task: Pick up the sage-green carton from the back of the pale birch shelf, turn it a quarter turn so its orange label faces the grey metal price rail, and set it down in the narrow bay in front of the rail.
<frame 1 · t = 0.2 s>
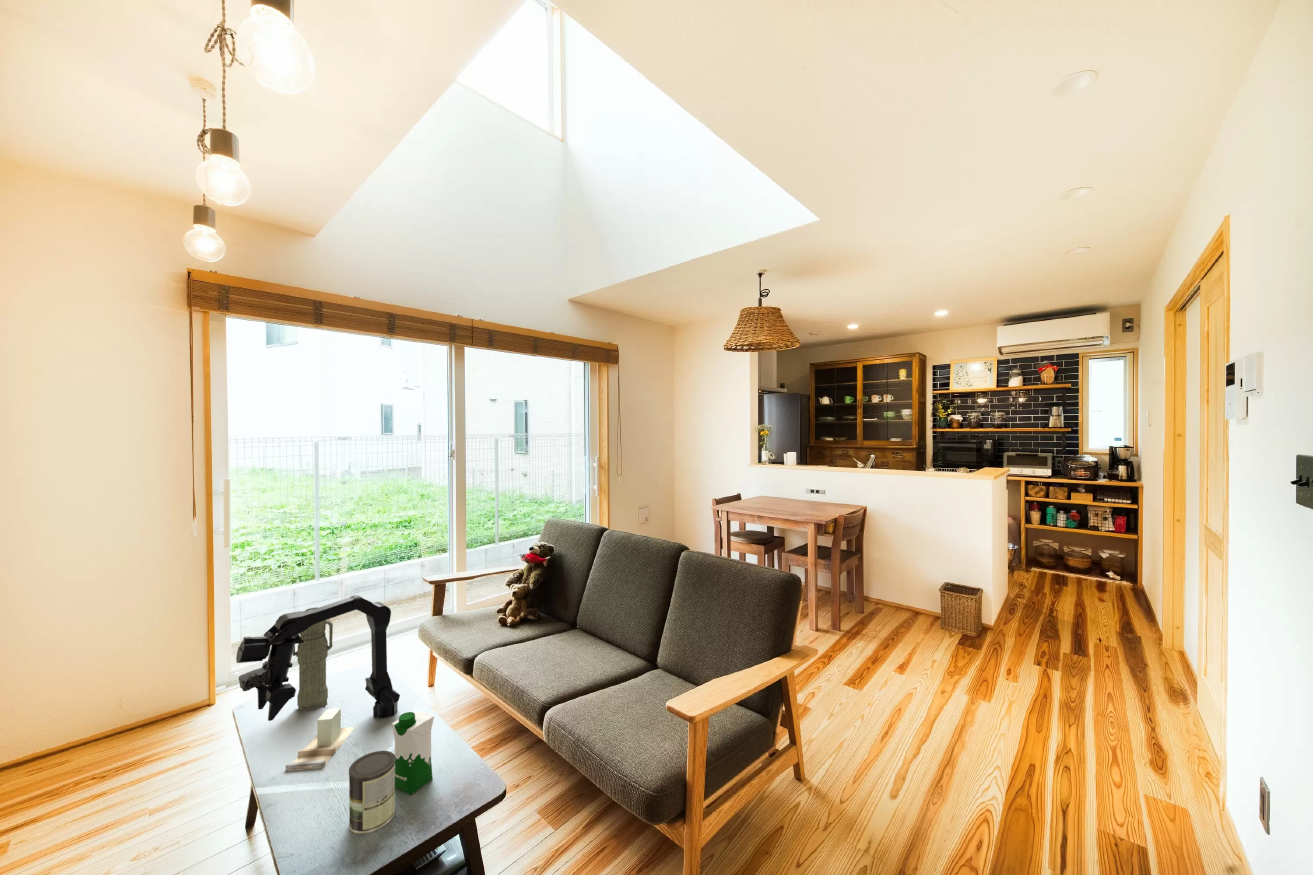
hand: (265, 714, 146), 15 cm above the table, tool pointing down, fingers open, 9 cm apart
carton: (329, 739, 157), point 1 cm above the table, touching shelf
thermos: (313, 708, 177), on the table
coffee can: (372, 818, 127), on the table
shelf: (322, 752, 153), on the table
milk carton: (413, 783, 139), on the table
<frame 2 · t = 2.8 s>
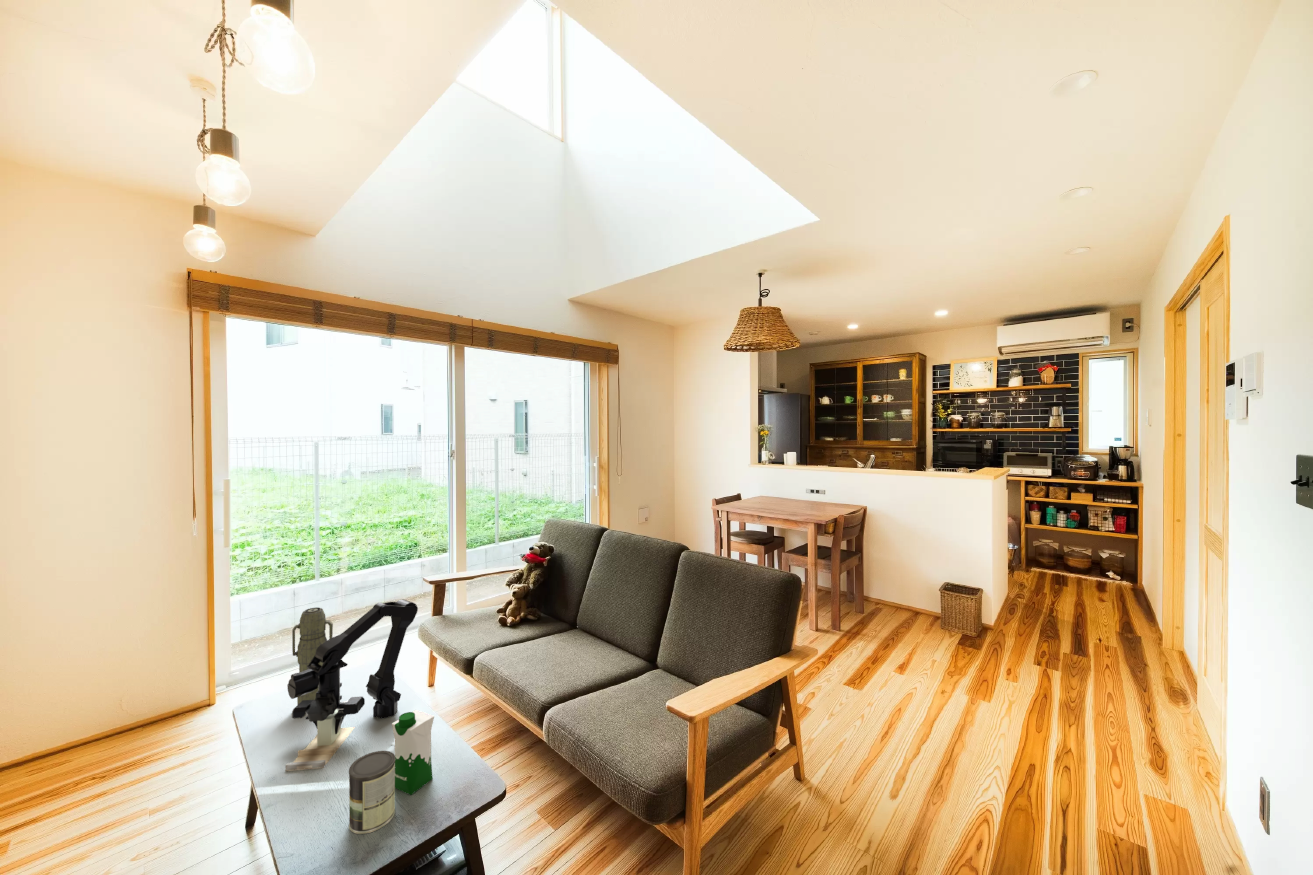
hand: (329, 733, 157), 3 cm above the table, tool pointing down, fingers closed on carton, 4 cm apart
carton: (329, 739, 157), point 2 cm above the table, touching gripper, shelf
everything else where it was.
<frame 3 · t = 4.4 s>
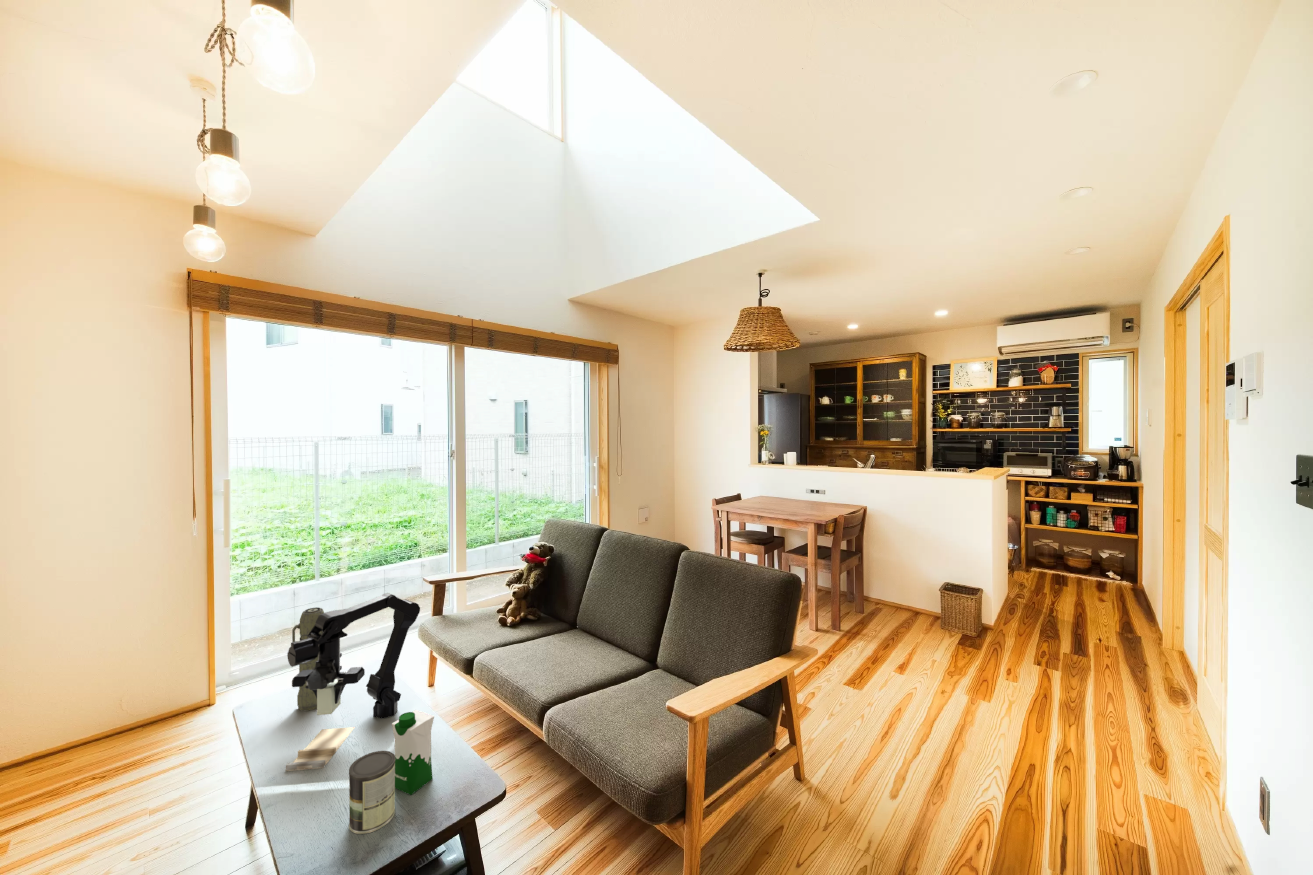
hand: (329, 703, 156), 13 cm above the table, tool pointing down, fingers closed on carton, 4 cm apart
carton: (329, 709, 156), point 11 cm above the table, touching gripper
everything else where it was.
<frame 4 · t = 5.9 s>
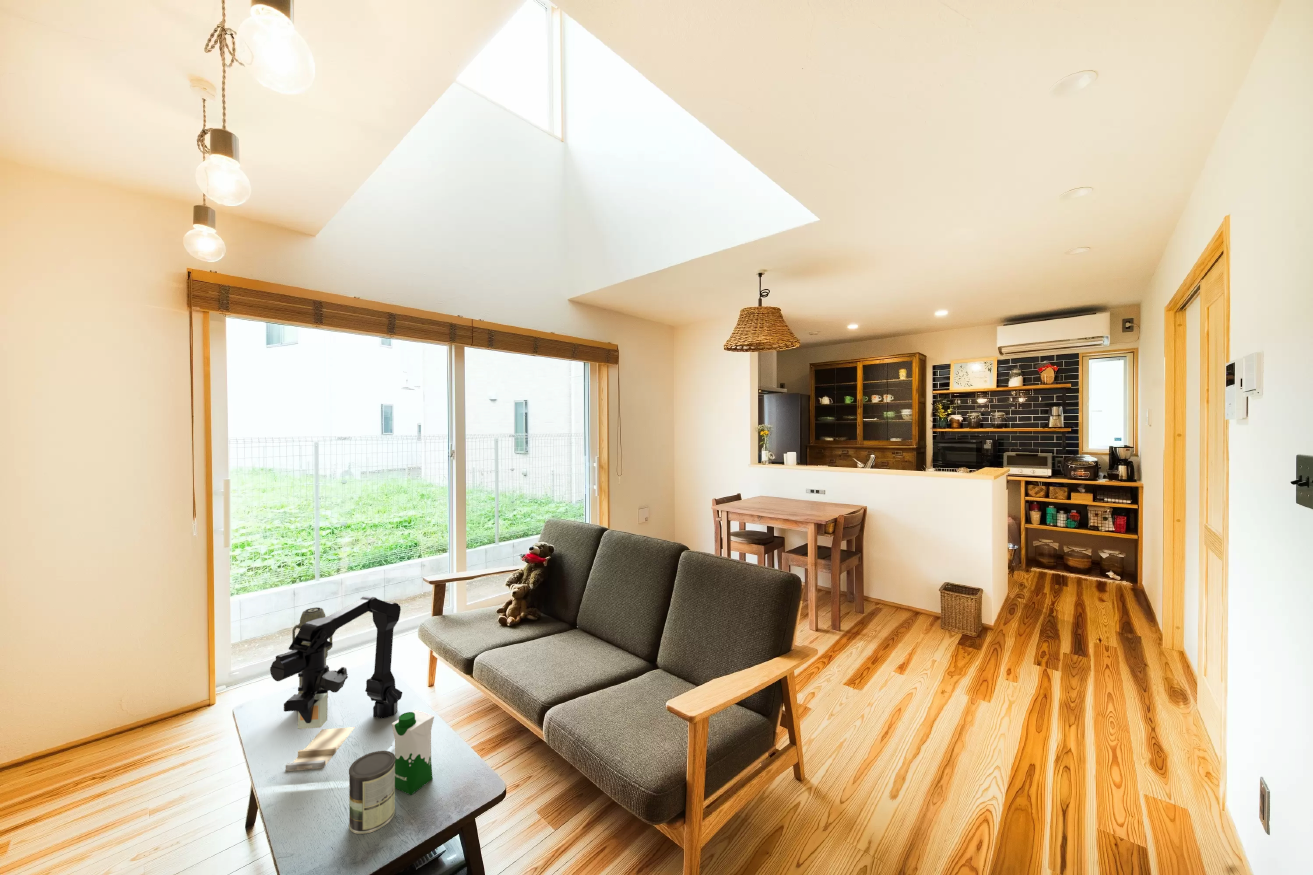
hand: (312, 718, 147), 13 cm above the table, tool pointing down, fingers closed on carton, 4 cm apart
carton: (312, 724, 147), point 12 cm above the table, touching gripper
everything else where it was.
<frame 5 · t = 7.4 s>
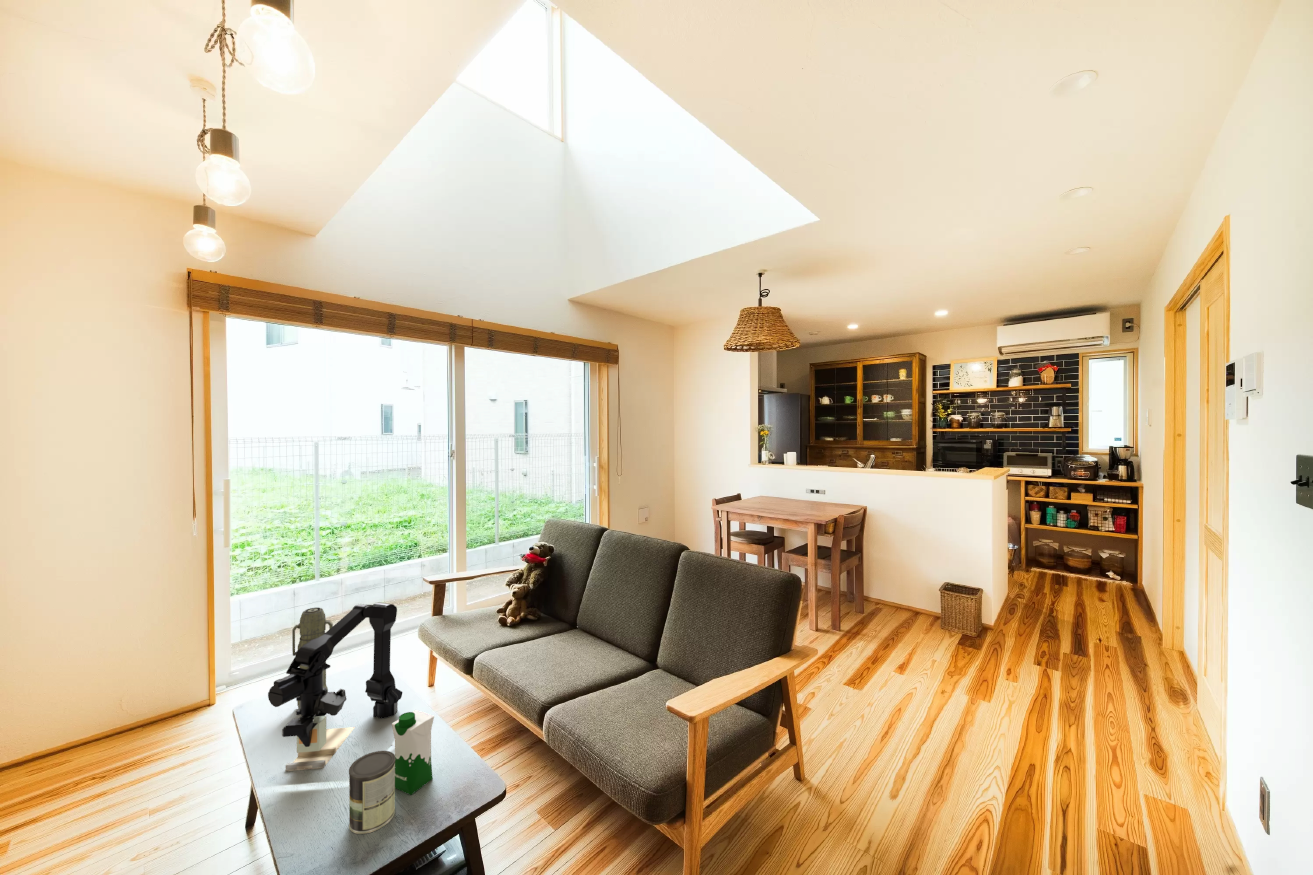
hand: (311, 741, 146), 7 cm above the table, tool pointing down, fingers closed on carton, 4 cm apart
carton: (311, 747, 146), point 5 cm above the table, touching gripper
everything else where it was.
when the fingers open (4 cm above the table, at t = 8.9 s): carton stays where it is, resting on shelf.
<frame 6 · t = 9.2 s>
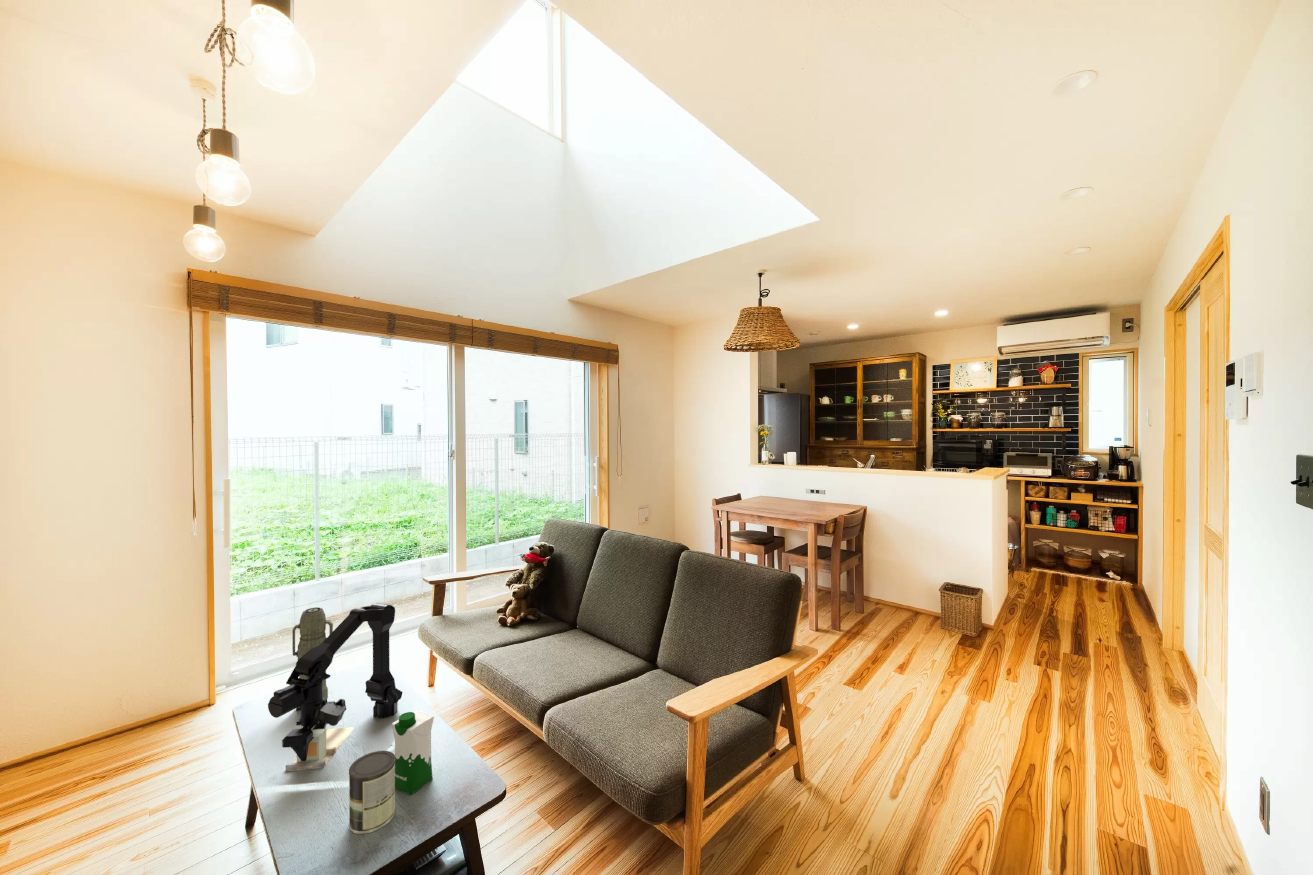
hand: (311, 751, 146), 4 cm above the table, tool pointing down, fingers open, 8 cm apart
carton: (311, 760, 146), point 1 cm above the table, touching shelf
everything else where it was.
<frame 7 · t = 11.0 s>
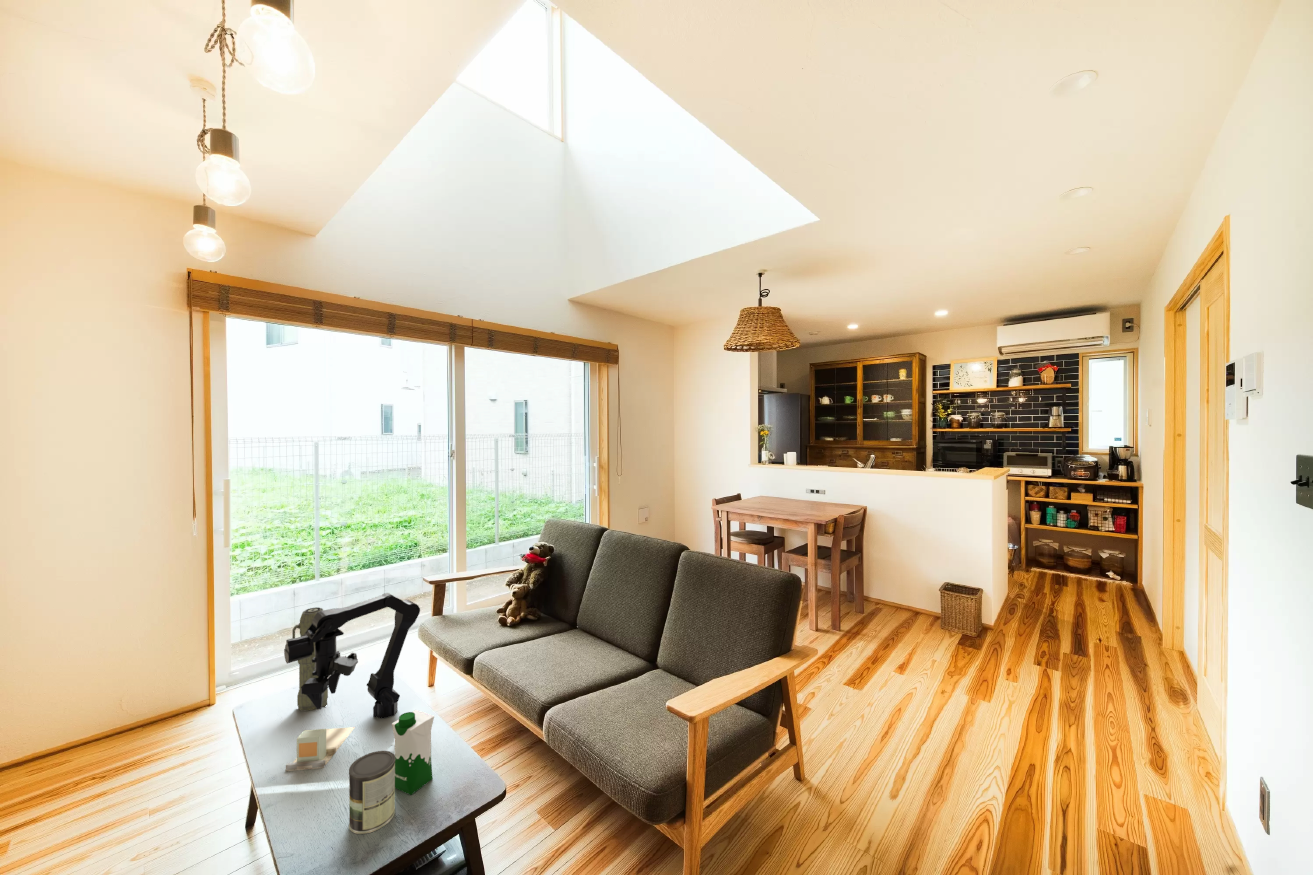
hand: (326, 700, 158), 13 cm above the table, tool pointing down, fingers open, 9 cm apart
nothing on the table moved.
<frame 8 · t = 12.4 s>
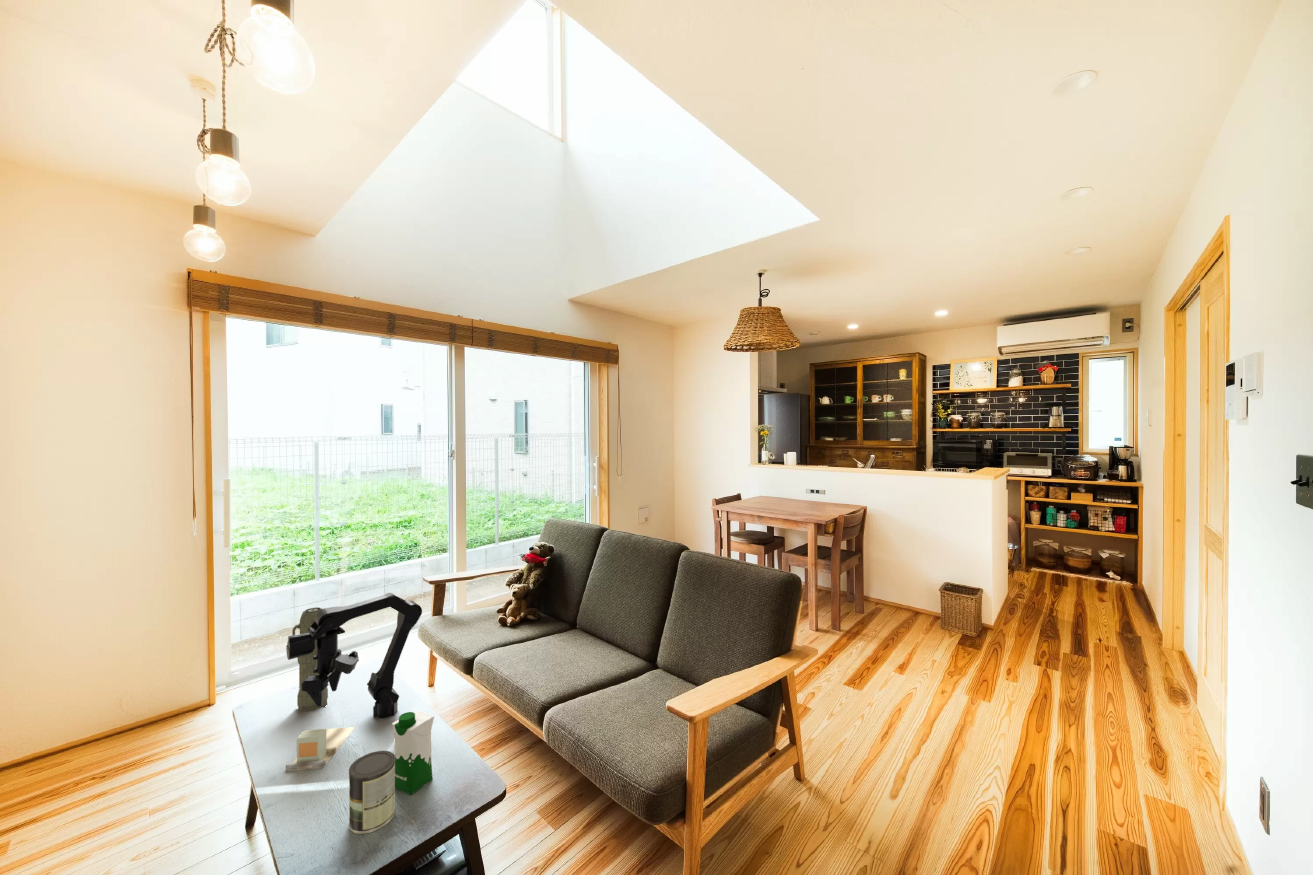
hand: (327, 698, 159), 13 cm above the table, tool pointing down, fingers open, 9 cm apart
nothing on the table moved.
at the end: carton 0.1 cm from the target spot on the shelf, point 1.5 cm above the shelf's base; carton tilted 0°; the gripper is holding nothing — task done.
